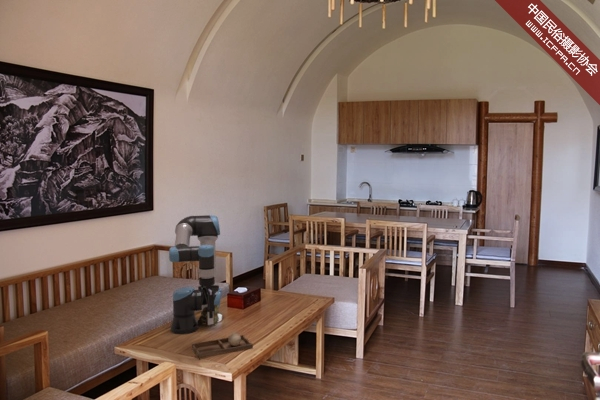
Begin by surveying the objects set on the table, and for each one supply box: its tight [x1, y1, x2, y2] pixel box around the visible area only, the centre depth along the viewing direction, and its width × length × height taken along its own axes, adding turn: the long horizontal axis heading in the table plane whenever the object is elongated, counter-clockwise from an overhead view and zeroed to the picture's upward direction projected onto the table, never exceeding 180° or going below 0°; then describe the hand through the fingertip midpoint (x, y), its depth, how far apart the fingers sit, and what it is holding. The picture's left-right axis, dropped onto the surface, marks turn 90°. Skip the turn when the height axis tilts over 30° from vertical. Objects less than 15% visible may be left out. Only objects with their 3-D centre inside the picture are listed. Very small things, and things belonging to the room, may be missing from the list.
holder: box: [191, 334, 254, 361], centre depth 247 cm, size 14×27×3 cm, turn 117°
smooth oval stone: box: [227, 332, 241, 346], centre depth 249 cm, size 7×7×7 cm
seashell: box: [197, 305, 220, 328], centre depth 242 cm, size 11×11×10 cm
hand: (207, 320), depth 242 cm, fingers closed on seashell, 10 cm apart
